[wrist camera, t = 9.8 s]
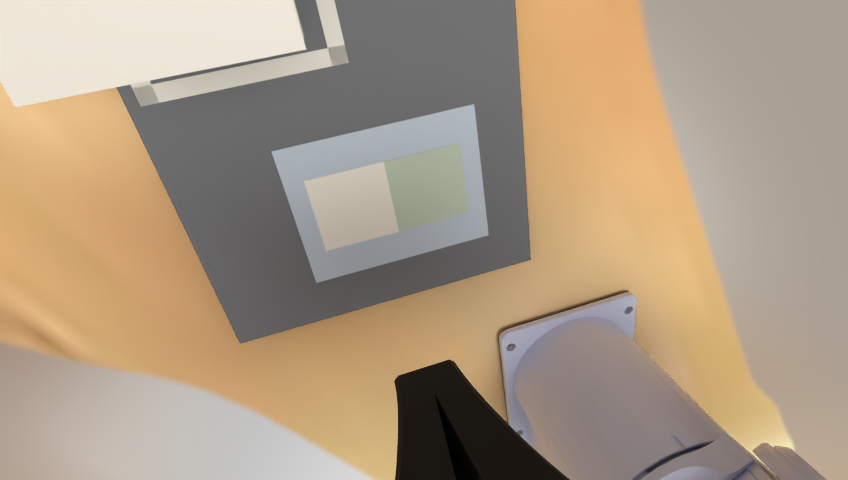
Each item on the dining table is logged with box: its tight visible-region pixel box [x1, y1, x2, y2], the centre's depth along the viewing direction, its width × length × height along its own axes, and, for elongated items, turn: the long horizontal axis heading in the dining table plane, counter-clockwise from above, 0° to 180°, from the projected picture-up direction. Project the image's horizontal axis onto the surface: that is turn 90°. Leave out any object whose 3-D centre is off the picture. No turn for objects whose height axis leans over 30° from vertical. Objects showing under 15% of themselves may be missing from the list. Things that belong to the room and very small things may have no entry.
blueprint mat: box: [117, 0, 531, 343], centre depth 17 cm, size 20×14×1 cm
